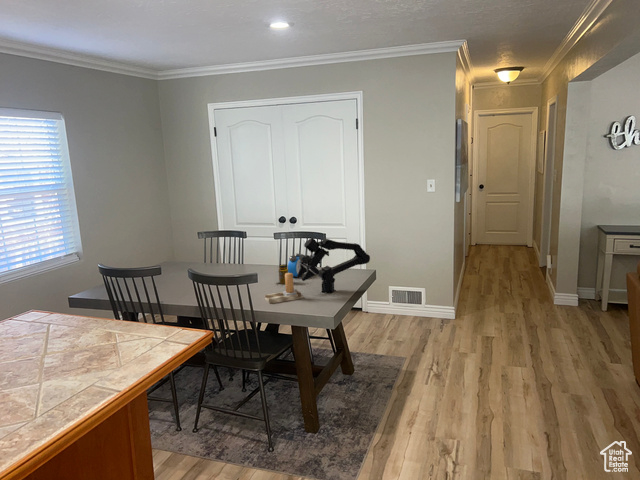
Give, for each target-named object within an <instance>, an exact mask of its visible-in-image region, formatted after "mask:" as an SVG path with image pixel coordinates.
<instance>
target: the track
mask: <svg viewBox="0 0 640 480" xmlns="http://www.w3.org/2000/svg"><path fill="white" fill-rule="evenodd" d="M294 291H295V292H297V294H295V295H289V296H284V293H283V291H282V292H281V291H280V292H276V293H270V294H269V293H268V294H264V299H265V301H266V302H267V303H268V304H275V303H281V302H287V301H288V302H289V301H295V300H300V299H303V298H304V296H303V295H302V293H301V291H299V290H297V289H294Z"/></svg>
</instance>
